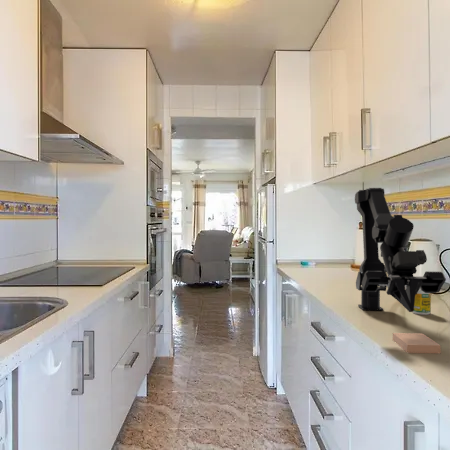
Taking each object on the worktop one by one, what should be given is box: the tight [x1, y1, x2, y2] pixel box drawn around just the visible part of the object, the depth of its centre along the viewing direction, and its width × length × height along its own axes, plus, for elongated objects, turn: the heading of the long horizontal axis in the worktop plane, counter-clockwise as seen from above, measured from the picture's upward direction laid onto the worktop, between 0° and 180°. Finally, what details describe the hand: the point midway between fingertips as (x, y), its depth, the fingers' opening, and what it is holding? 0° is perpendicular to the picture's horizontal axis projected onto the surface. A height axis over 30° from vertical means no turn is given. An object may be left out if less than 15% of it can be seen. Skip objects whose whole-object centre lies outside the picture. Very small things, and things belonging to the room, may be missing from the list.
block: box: [392, 332, 441, 354], centre depth 91 cm, size 2×7×9 cm
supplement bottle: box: [412, 288, 432, 316], centre depth 124 cm, size 5×5×10 cm
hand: (411, 311), depth 93 cm, fingers closed
